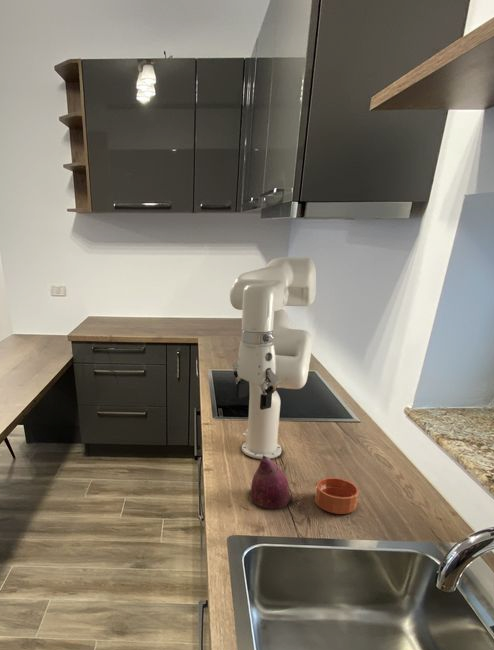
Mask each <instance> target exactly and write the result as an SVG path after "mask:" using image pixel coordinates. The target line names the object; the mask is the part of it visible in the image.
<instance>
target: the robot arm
mask: <svg viewBox="0 0 494 650" xmlns="http://www.w3.org/2000/svg"><path fill="white" fill-rule="evenodd" d="M316 296H317V269H316V265H315V263H314V260H313V259H311V258H309V257H289V256H284V257H283V256H282V257H276V258H274V259H271V260H270V261H269V262H268V263H267V264H266V265H265V267H261V268H259V269H254V270H251V271H246V272H243V273H241V274H239V275H238V276H237V277H236V278H235V279H234V281H233V283H232V285H231V287H230V292H229V301H230V304H231V306H232V307H233V308H234V309H235V310H239V311H241V313H242V314H241V331H240V332H241V335H240V336H241V337H240V342H239V343H240V344H239V348H238V355H237V362H234V363H232V365H231V366H232V370H233V376H234V378H235V379H234V380H235V381H234V382H235V383H236V389H235V390H236V391H235V393H236V394H235V397H236V398H237V399H241V398H245V397H247V396H248V387H249V400H248V418H247V429H245V432H243V433H242V435H241V436H242V437H243V438H244V439H245V442H243V443H242V445H241V451H242V453H244V454H245V455H246V456H248V457H250V458H253V459H258V460H261V458H262V457H263V455H264V456H266V457H269V458H270V459H271V460H272V459H276V458H278V457H279V456H281V454H282V450H283V449H282V447H281V445H280V444H279V443H278V437H279V427H280V425H279V424H280V413H281V403H282V402H281V397H280V395H279V393H278V391H277V390H278V389H288V390H301V389H302V388H304V387H305V385H306V383H307V381H308V376H309V372H310V371H309V369H310V364H311V357H312V349H313V338H312V335H311V333H310V332H309V331H307V330H304V329H295V328H291V327H292V321H291V318H290V317H289V315H288V314H287V312H286V311H285V310H284V309H283V308H284V307H309V306H311V305H313V303H314V302H315V299H316ZM248 385H249V386H248Z"/></svg>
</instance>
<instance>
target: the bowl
mask: <svg viewBox="0 0 494 650" xmlns="http://www.w3.org/2000/svg"><path fill="white" fill-rule="evenodd" d="M359 495H360V490H359V487H358V486H357V485H356V484H355V483H354V482H351V481H350V480H347V479H344V478H341V477H333V476H332V477H324V478H321V479H320V480H318V481H317V482H316V487H315V495H314V503H315V504H316V506H318V507H319V508H320V509H322V510H323V511H325V512H327V513H332V514H336V515H346V514H350V513H352V512H353V513H354V511H355V510H356V509H357V507H358V501H359Z"/></svg>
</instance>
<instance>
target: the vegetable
mask: <svg viewBox="0 0 494 650" xmlns="http://www.w3.org/2000/svg"><path fill="white" fill-rule="evenodd" d="M290 494H291V493H290V485H289V482H288V478H287V477H286V475H285V472H284V471H283V470H282V469H281V467H280V466H279V465H278V464H276V463H275V462H274V461H273V460H272V459H270V458H269V457H266V456H264V455H263V457H262V458H261V459H260V460H259V465H258V467H257V469H256V471H255V473H254V474H253V477H252V479H251V486H250V501H251V502H252V504H253V505H256V506H258V507H261V508H264V509H273V510H274V509H282V508H284V507H286V506H287V505H288V504H289V502H290V496H291V495H290Z"/></svg>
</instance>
